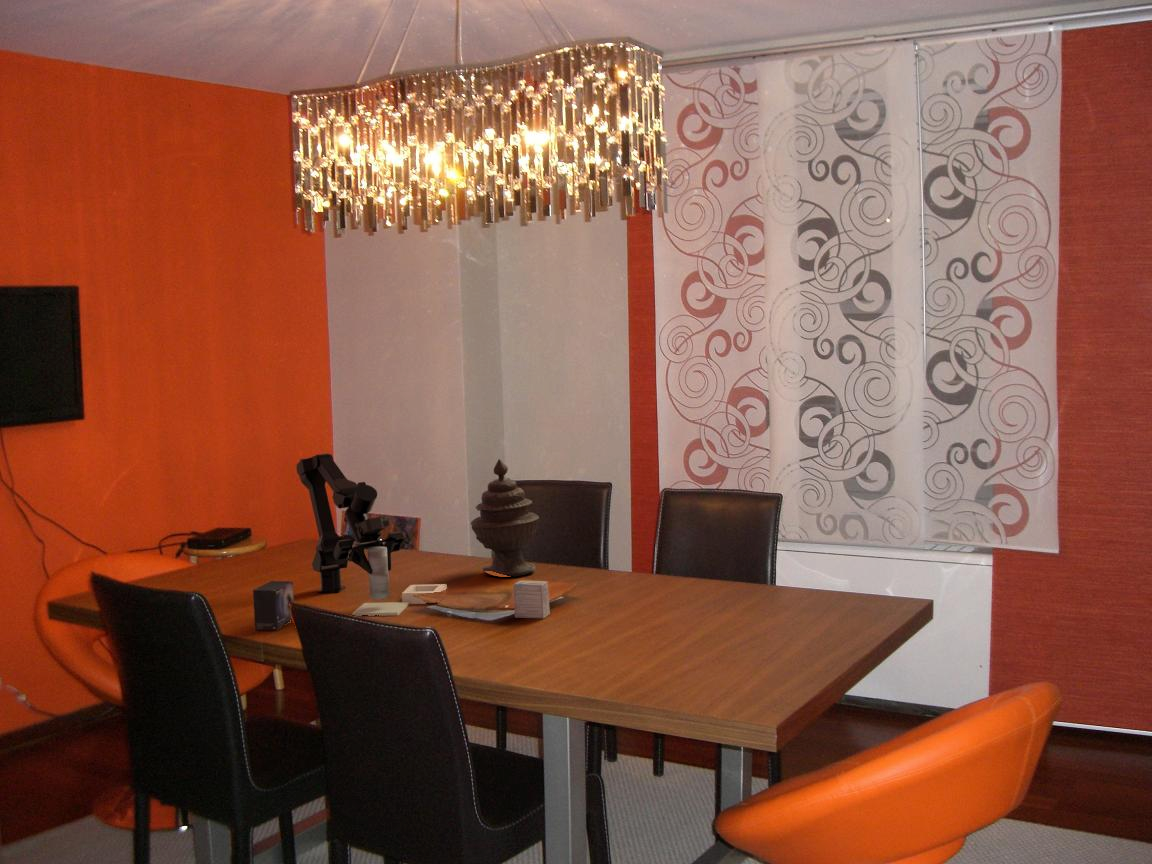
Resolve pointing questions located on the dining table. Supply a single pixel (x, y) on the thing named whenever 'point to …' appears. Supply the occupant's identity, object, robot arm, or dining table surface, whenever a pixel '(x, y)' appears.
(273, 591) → the small box
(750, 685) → the dining table surface
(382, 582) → the peg
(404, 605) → the pad
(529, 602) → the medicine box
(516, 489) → the decorative urn
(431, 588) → the pocket block
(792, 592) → the dining table surface
